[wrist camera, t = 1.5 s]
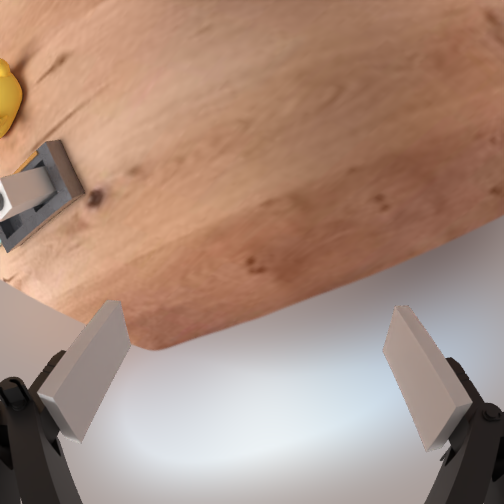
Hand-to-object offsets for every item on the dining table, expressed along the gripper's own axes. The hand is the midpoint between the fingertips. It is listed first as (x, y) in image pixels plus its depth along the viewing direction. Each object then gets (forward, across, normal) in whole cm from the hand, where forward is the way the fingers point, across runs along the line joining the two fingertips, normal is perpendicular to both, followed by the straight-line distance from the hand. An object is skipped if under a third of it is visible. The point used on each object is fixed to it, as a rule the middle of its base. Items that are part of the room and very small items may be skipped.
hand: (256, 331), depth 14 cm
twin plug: (+25, -30, +4) cm, 39 cm away
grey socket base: (+26, -34, +2) cm, 43 cm away
